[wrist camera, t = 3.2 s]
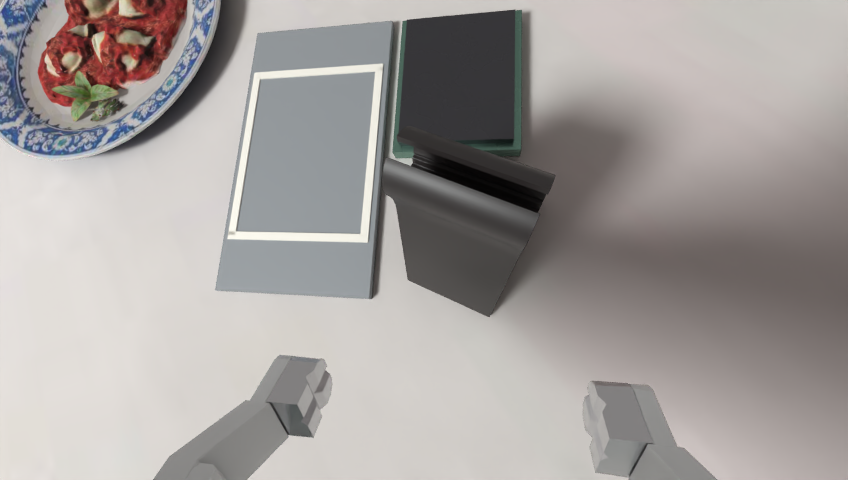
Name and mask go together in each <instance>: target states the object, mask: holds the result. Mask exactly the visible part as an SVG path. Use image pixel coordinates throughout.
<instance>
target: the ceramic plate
mask: <svg viewBox="0 0 848 480" xmlns="http://www.w3.org/2000/svg"><path fill="white" fill-rule="evenodd" d="M220 5H221V0H4V2H3V3H2V5H1V7H0V138H1V139H2V140H3V141H4V142H5V143H6V144H7V145H9V146H10V147H12V148H13V149H15V150H16V151H18V152H20V153H23V154H25V155H27V156H31V157H34V158H38V159H44V160H51V161H66V160H76V159H81V158H86V157H90V156H93V155H96V154H100V153H102V152H105V151H107V150H109V149H112V148H114V147H116V146H118V145H120V144H122V143H124V142H126V141H128V140H129V139H131V138H133V137H134V136H135V135H137V134H138V133H140V132H141V131H143V130H144V129H145V128H147V127H148V126H150V125H151V124H152V123H153V122H154V121H156V120H157V119H158V118H159V117H160V116H161V115H162V114H163V113H164V112H165V111H166V110H167V109H168V108H169V107H170V106H171V105H172V104H173V103H174V102H175V101H176V100H177V99H178V98H179V96H180V95H181V94H182V93H183V91H184V90H185V89H186V87H187V86H188V84H189V83H190V82H191V80H192V79H193V78H194V76H195V75H196V73H197V71H198V69H199V67H200V66H201V64H202V62H203V60H204V58H205V56H206V54H207V52H208V50H209V48H210V45H211V43H212V40H213V37H214V34H215V31H216V27H217V23H218V19H219V13H220Z"/></svg>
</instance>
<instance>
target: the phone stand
mask: <svg viewBox="0 0 848 480" xmlns="http://www.w3.org/2000/svg"><path fill="white" fill-rule="evenodd" d="M397 141H398V142H401V143H404V144H407V145H410V146H413V147H414V151H413V153H414V155H413V157H412V159H413V164H412V165H411V166H409V165H406V164H404V163H401V162H398V161H396V160H393V159H390V158H387V157H386V160H385V163H384V168H383V174H382V187H383V191H384V193H385V194H386V195H388V196H390V197H391V198H392V199H393V200H394V202H395V204H396V208H397V214H398V221H399V227H400V233H401V240H402V246H403V252H404V259H405V265H406V271H407V277H408V280H409V281H411V282H413V283H416V284H418V285H420V286H422V287H424V288H427V289H429V290H431V291H433V292H435V293H438V294H440V295H442V296H444V297H446V298H448V299H451V300H453V301H455V302H457V303H459V304H462V305H464V306H466V307H468V308H470V309H472V310H475V311H477V312H479V313H481V314H483V315H486V316H488V317H490V315H491V313H492V311H493V309H494V307H495V305H496V303H497V301H498V299H499V297H500V295H501V293H502V290H503V288H504V286H505V284H506V282H507V280H508V278H509V276H510V274H511V272H512V270H513V268H514V266H515V264H516V262H517V260H518V258H519V256H520V254H521V252H522V250H524V248H525V246H526V244H527V242H528V240H529V238H530V236H531V233H532V231H533V229H534V227H535V224H536V222H537V220H538V218H539V215H540V214H538V211H539V209H540V207H541V205H542V202H543V200H544V198H545V196H546V194H547V195H548V193H549V191H550V189H551V186H552V184H553V181H554V178H555V175H553V174H550V173H547V172H544V171H541V170H538V169H535V168H532V167H530V166H527V165H524V164H521V163H518V162H515V161H512V160H509V159H506V158H503V157H500V156H497V155H494V154H491V153H488V152H486V151H483V150H480V149H477V148H474V147H471V146H468V145H465V144H462V143H459V142H456V141H453V140H450V139H447V138H444V137H442V136H439V135H436V134H433V133H430V132H427V131H424V130H421V129H418V128H415V127H412V126H406V127H404V128H403V129H402V130H401V131H400V132H399V133H398V134H397Z"/></svg>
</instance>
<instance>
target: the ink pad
mask: <svg viewBox="0 0 848 480" xmlns="http://www.w3.org/2000/svg"><path fill="white" fill-rule="evenodd" d="M521 46H522V10H517V11H515V10H507V11H497V12H486V13H475V14H464V15H454V16H443V17H432V18H421V19H411V20H407V21H403V24H402V37H401V50H400V63H399V76H398V89H397V102H396V115H395V128H394V140H393V154H394V156H395V157H396V158H412V157H413V155H414V153H413V151H414V147H413V146H410V145H407V144H404V143H401V142H398V141H397V134H398V133H399V132H400V131H401V130H402V129H403V128H404V127H406V126H412V127H415V128H418V129H421V130H424V131H427V132H430V133H433V134H436V135H439V136H442V137H444V138H447V139H450V140H453V141H456V142H459V143H462V144H465V145H468V146H471V147H474V148H477V149H480V150H483V151H486V152H488V153H491V154H494V155H497V156H520V152H521Z"/></svg>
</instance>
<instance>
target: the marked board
mask: <svg viewBox="0 0 848 480" xmlns="http://www.w3.org/2000/svg"><path fill="white" fill-rule="evenodd" d="M393 33H394V25H393V22H392V21H384V22H374V23H363V24H352V25H341V26H331V27H320V28H309V29H298V30H288V31H277V32H266V33H258V34H257V40H256V46H255V52H254V58H253V64H252V70H251V76H250V82H249V88H248V94H247V100H246V106H245V113H244V119H243V125H242V131H241V137H240V143H239V149H238V155H237V161H236V167H235V173H234V179H233V185H232V191H231V197H230V203H229V209H228V215H227V221H226V228H225V234H224V240H223V246H222V252H221V258H220V264H219V270H218V276H217V282H216V288H215V290H217V291H234V292H253V293H271V294H289V295H307V296H326V297H344V298H362V299H372V288H373V276H374V264H375V252H376V240H377V228H378V215H379V203H380V191H381V179H382V167H383V155H384V143H385V131H386V118H387V106H388V94H389V82H390V70H391V58H392V46H393Z"/></svg>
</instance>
